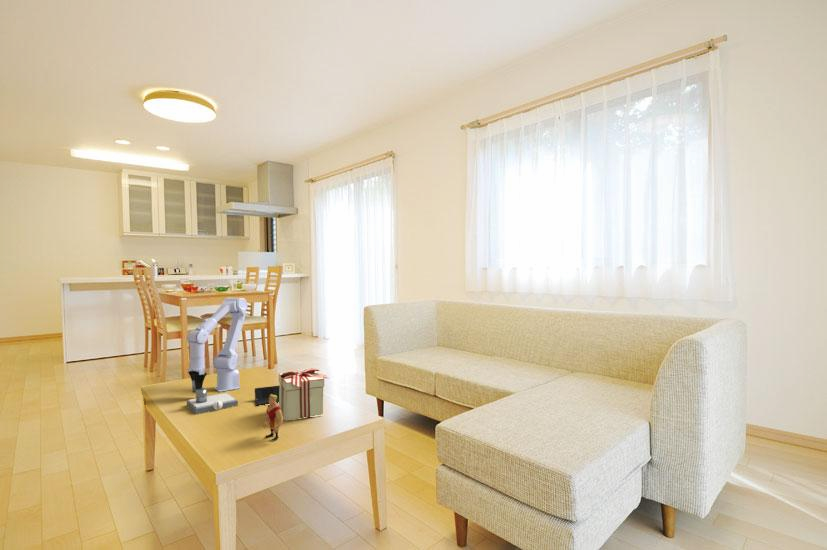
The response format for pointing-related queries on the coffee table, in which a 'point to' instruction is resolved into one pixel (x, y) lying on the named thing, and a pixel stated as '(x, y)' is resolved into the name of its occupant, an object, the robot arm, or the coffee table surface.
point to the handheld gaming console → (265, 394)
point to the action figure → (273, 416)
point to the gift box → (301, 394)
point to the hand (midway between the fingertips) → (197, 387)
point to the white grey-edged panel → (212, 403)
